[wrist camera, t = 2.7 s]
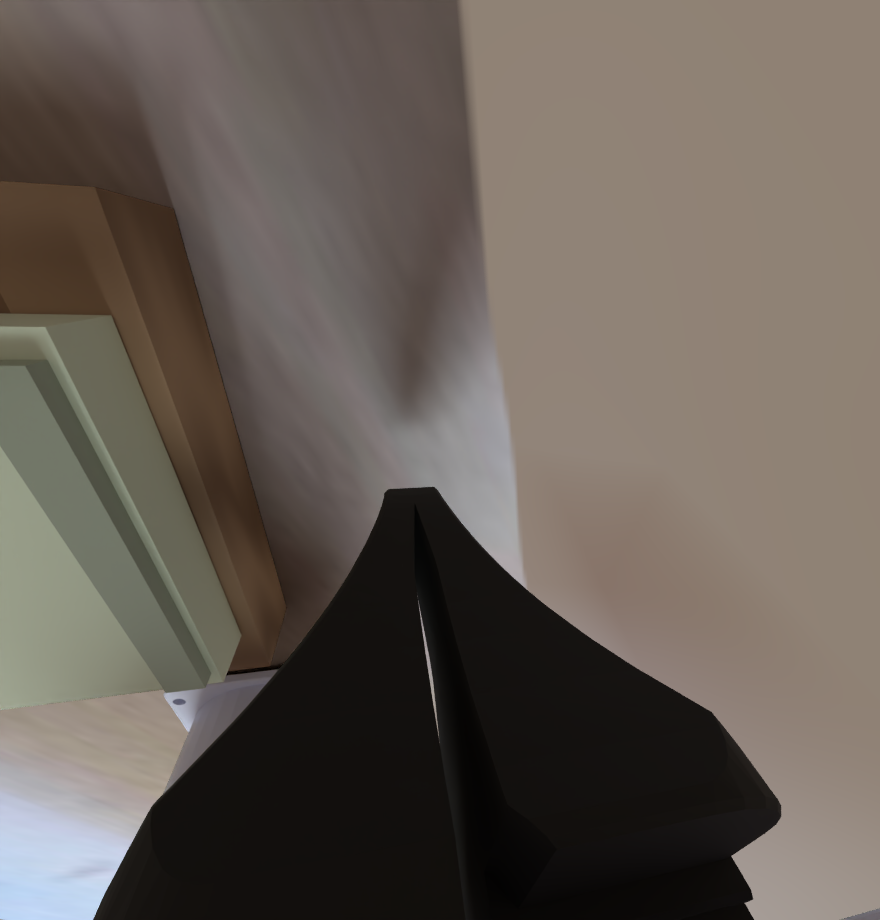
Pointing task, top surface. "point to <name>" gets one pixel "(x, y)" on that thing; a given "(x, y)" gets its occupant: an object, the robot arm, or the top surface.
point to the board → (151, 364)
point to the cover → (95, 529)
